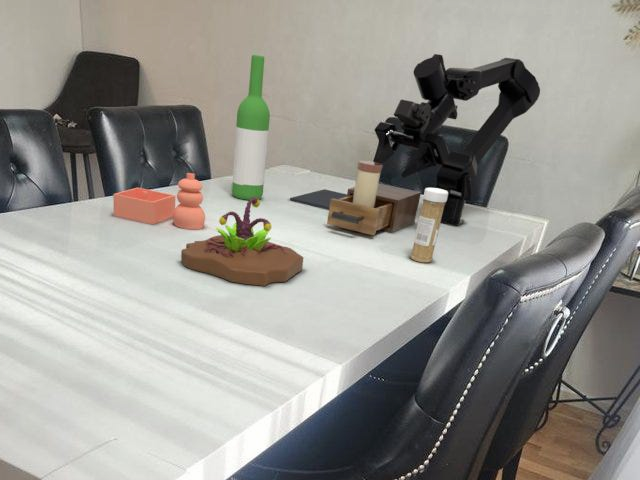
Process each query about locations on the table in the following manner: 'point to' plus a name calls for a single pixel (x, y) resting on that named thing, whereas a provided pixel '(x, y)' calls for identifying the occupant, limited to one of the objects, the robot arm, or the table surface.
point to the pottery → (163, 205)
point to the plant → (243, 253)
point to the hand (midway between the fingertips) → (387, 171)
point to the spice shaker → (367, 183)
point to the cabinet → (397, 205)
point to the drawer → (359, 215)
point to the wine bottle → (251, 137)
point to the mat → (319, 198)
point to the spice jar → (428, 224)
